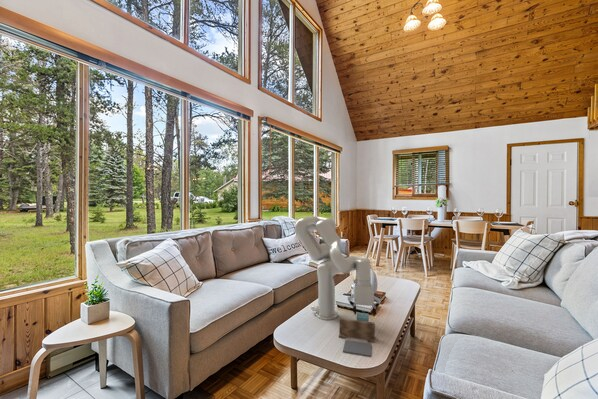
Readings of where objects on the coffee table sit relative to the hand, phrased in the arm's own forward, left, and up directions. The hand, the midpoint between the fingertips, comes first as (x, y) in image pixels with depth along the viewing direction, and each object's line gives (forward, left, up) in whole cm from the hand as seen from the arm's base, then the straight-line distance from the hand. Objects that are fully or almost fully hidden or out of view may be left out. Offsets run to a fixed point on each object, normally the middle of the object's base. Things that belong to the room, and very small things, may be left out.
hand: (364, 314), depth 147 cm
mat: (-2, -22, -7) cm, 23 cm away
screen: (-3, -12, -7) cm, 14 cm away
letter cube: (-1, 0, -7) cm, 7 cm away
